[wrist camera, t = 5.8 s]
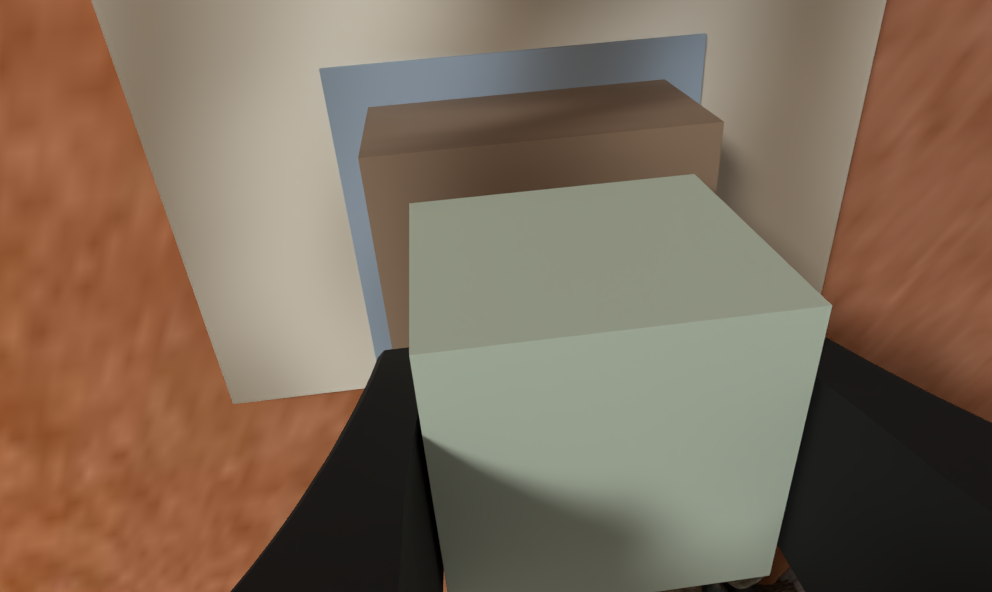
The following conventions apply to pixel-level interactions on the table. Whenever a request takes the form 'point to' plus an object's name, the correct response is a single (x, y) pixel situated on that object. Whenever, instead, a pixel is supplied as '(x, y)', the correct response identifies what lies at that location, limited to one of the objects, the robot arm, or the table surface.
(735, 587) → the eagle figurine
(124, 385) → the table surface
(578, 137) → the walnut block
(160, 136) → the build plate
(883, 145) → the table surface
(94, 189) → the table surface
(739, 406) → the green block
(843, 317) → the table surface
